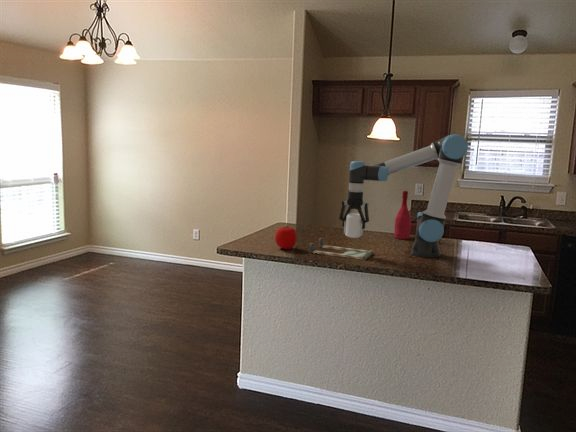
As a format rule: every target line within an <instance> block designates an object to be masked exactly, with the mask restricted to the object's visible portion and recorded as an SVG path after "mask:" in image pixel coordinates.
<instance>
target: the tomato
mask: <svg viewBox="0 0 576 432" xmlns="http://www.w3.org/2000/svg"><path fill="white" fill-rule="evenodd" d="M274 240H275V243H276V245H277V246H278V247H279V248H281V249H285V250H291V249H293V248H294V246H295V245H296V243H297V232H296V230H295V229H294V228H293V227H291V226H288V225H286V226H282V227H279V228H278V229H277V230H276V231H275V234H274Z"/></svg>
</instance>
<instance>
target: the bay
mask: <svg viewBox="0 0 576 432" xmlns="http://www.w3.org/2000/svg"><path fill="white" fill-rule="evenodd" d="M324 240H325V239H324V238H322V237H319V239H318V242H319V243H318V248H319V247H320V248H319V249H321V248H322V249H327V250H328V249H330V250H337V251H343V253H338V252H331V251H323V250H315V243H314V242H310V243H309V254H315V253H317V254H318V255H323V254H324V256H331V257H340V258H345V257H346V258H347V259H354V260H362V261H366V260H367V259H368V258H369V257H371V255H372V254H373V251H374V250H373V249H369V250H366V249H357V248H349V247H341V246H335V245H334V246H333V245H326V244H324ZM344 251H345V252H344ZM317 254H316V255H317Z"/></svg>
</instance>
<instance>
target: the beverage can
mask: <svg viewBox="0 0 576 432" xmlns="http://www.w3.org/2000/svg"><path fill="white" fill-rule="evenodd" d="M361 223H362V220H361V217H360V215H359V212H350V213H349V214H348V215H347V216H346V233H345V235H344V236H346V237H347V238H352V239H353V238H354V239H358V238H360V237H361V236H360V227H361Z"/></svg>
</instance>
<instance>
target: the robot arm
mask: <svg viewBox="0 0 576 432" xmlns="http://www.w3.org/2000/svg"><path fill="white" fill-rule="evenodd" d="M468 150H469V145H468V141H467V139H466V138H465V137H464V136H462V135H460V134H455V133H453V134H449V135H448V134H447V135H446V136H444V137H442V138H440V139H438V140H435V141H433V142H431V144H430V145H428V146H425V147H421V148H420V149H416V150H414V151H411V152H408V153H406V154H403V155H400V156H397V157H394V158H391V159H389V160H386V161H383V162H380V163H377V164H374V165H368V164H367V165H366V162H365V161H359V160H353V161H351V162H350V163H349V175H348V176H349V180H348V196H347V200H342V201H341V205H342V206H341V209H340V214H339V218H338V219H339V221H342V227H343V234H345V233H346V216H347V215H348V214H349V213H351V211H352V210H357V213H359V215H360V217H361V220H362V223H361V227H360V237H361V236H363V235H364V230H365V229H366V223H369V222H370V215H369V202H364V183H365V182H364V181H372V182H373V181H375V182H387V181H388V179H389V176H391V175H394V174H396V173H399V172H402V171H405V170H407V169H410V168H413V167H416V166H420V165H422V164H424V163H427V162H431V161H434V160H437V161H438V163H439V165H438V169H437V171H436V176H435V180H434V183H433V187H432V190H431V194H430V197H429V201H428V204H427V209H425V210H424V211H419V212H418V213H417V215H416V230H415V239H414V242H413V244H412V247H411V251H410V253H411V254H412V255H413V256H416V257H420V258H439V257H441V249H440V248H441V247H440V245H439V240H440V239H441V238H442V237H443V235H444V233H445V230H444V229H445V224H446V220H447V217H446V215H445V213H446V212H445V211H446V209H447V205H448V201H449V198H450V196H451V192H452V188H453V185H454V184H453V183H454V180H455V178H456V177H455V176H456V173H457V170H458V167H460V166H461V165H462V164H463V161H464V157H465V155H466V154H467V152H468ZM347 205H348V207H347V210H346V206H347ZM362 206H363V209H364V213H363V210H362ZM345 211H346V212H345Z"/></svg>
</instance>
